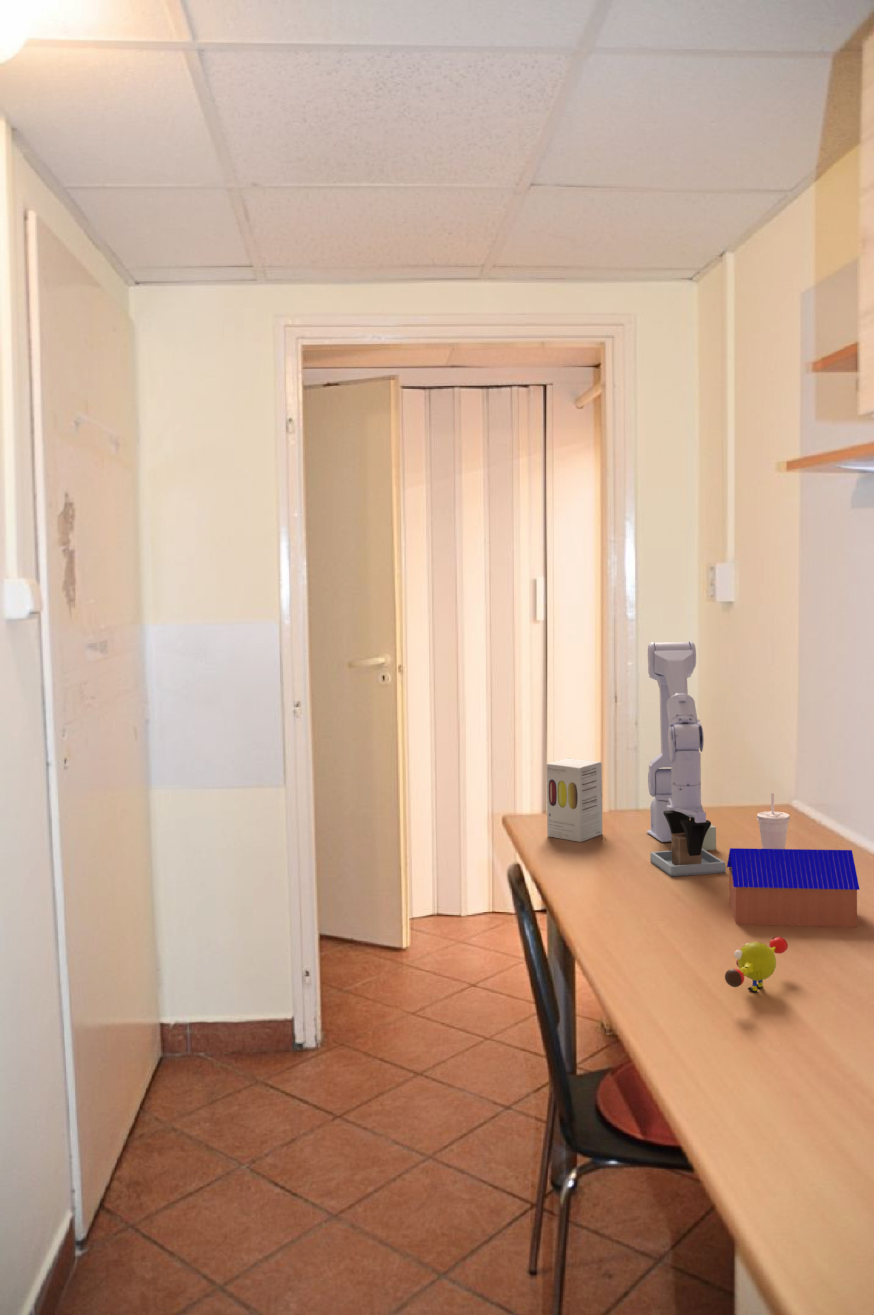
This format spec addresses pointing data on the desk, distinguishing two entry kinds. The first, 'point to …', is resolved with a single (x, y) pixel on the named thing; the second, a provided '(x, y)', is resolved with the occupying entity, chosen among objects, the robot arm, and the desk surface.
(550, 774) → the supplement box
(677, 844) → the block
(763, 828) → the smoothie
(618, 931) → the desk surface
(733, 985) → the toy figure
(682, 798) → the robot arm
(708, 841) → the oversize block
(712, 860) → the tray
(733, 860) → the house
